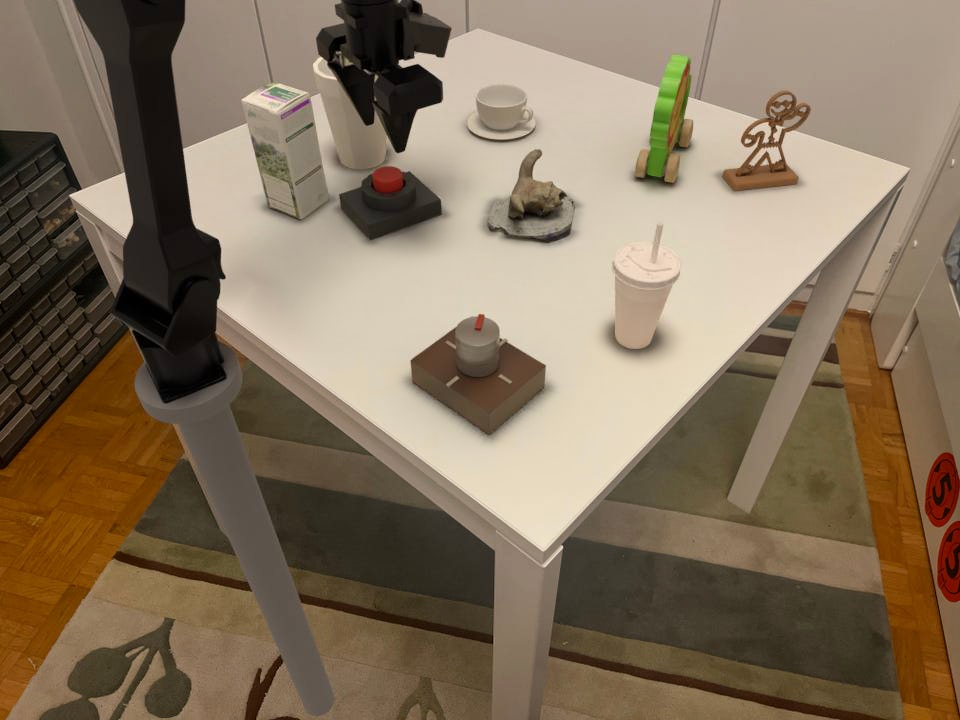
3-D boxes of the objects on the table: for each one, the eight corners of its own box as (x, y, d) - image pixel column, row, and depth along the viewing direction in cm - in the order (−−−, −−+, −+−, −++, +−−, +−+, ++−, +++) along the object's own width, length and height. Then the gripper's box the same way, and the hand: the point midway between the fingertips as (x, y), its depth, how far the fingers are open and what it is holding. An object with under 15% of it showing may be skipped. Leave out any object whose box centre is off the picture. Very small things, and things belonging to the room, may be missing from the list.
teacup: (454, 131, 108) (453, 100, 105) (489, 104, 114) (489, 74, 111) (514, 149, 104) (514, 117, 101) (547, 120, 110) (549, 89, 107)
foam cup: (398, 140, 106) (390, 48, 97) (395, 174, 100) (386, 79, 91) (331, 141, 106) (317, 49, 97) (324, 175, 100) (307, 80, 90)
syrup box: (331, 199, 95) (312, 90, 85) (299, 222, 92) (276, 110, 82) (297, 187, 98) (275, 78, 87) (265, 208, 94) (238, 98, 84)
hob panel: (411, 382, 72) (409, 359, 70) (468, 339, 77) (468, 316, 74) (488, 435, 68) (488, 412, 65) (545, 386, 72) (547, 363, 70)
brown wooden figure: (733, 191, 96) (757, 102, 88) (721, 175, 99) (743, 87, 90) (797, 183, 97) (827, 95, 89) (783, 168, 100) (811, 81, 92)
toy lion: (654, 134, 107) (672, 25, 96) (692, 140, 106) (715, 31, 95) (627, 189, 97) (644, 74, 86) (669, 198, 95) (692, 82, 84)
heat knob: (494, 380, 68) (495, 346, 65) (452, 374, 69) (450, 340, 66) (502, 350, 71) (503, 316, 68) (461, 345, 72) (460, 311, 69)
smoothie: (649, 366, 74) (674, 251, 64) (591, 343, 76) (606, 228, 66) (674, 329, 77) (701, 215, 68) (617, 308, 80) (635, 195, 70)
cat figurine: (483, 241, 90) (484, 203, 86) (499, 180, 97) (501, 142, 92) (566, 253, 89) (572, 215, 84) (577, 190, 96) (582, 152, 91)
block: (369, 240, 89) (366, 211, 86) (341, 209, 94) (336, 181, 91) (441, 214, 93) (440, 186, 90) (410, 185, 98) (408, 158, 95)
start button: (382, 197, 89) (380, 184, 88) (368, 184, 91) (367, 171, 90) (408, 188, 90) (407, 176, 89) (394, 175, 93) (393, 163, 91)
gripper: (486, 7, 73) (487, 152, 84) (396, -44, 84) (406, 90, 95) (384, 32, 68) (399, 181, 79) (303, -25, 80) (326, 113, 91)
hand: (384, 137), depth 86 cm, fingers open, 7 cm apart
